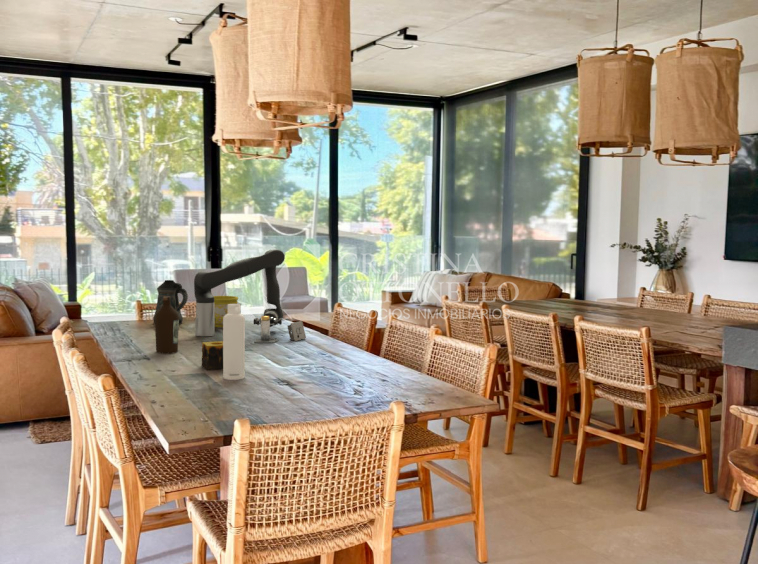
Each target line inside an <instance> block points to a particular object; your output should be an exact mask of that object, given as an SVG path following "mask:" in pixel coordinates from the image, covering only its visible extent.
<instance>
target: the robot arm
mask: <svg viewBox="0 0 758 564" xmlns="http://www.w3.org/2000/svg"><path fill="white" fill-rule="evenodd" d="M285 258H286V257H285V253H284V251H282V250H280V249H279V248H278V249H277V248H276V249H275V248H274V249H269V250H267V251H266V252H264V254H261V255H258V256H252V257H247V258H243V259H239V260H237V261H233V262H232V263H231V262H230V264H227V266H226V267H224V268H221V269H217V270H214V271H203V270H202V271H199V272H197V273H196V274H195V276H194V279H193V287H194V289H193V290H194V298H195V304H196V305H195V309H196V310H195V312H196V313H195V315H196V316H195V319H194V320H195V324H194V325H195V326H194V328H195V329H194V330H195V332H194V334H195V337H211V336H212V337H213V336H215V327H214V296H215V295H213V293H212V289H215V288H216V287H219V286H221V285H222V284H226V283H228V282H231V281H235V280H240V279H243V278H245V277H248V276H250V275H253V274H256V273H257V272H259V271H262V270H264V271H265V278H266V302H267V304H269V305H273V306H274V307H275V308H266V309H264V311H263V314H262V316H269V320H270V328H272V327H274V326H278V325H279V326H280V325H283V318H284V313H283V310H282V306H281V299H280V298H281V290H280V289H281V288H280V284H279V281H278V277H277V271H276V270H277V267H278V266H281V265H282V264H283V263H284V261H285ZM253 325H257V326H259V325H260V326H261V317H260V318H258V317H255V318H253Z"/></svg>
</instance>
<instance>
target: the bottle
mask: <svg viewBox="0 0 758 564" xmlns="http://www.w3.org/2000/svg"><path fill="white" fill-rule="evenodd" d="M245 322H246V317H245V316H244V315H243V314H242V313H241V304H239V303H237V304H228V314H226V315H225V316H224V317H223V327H222V330H223V331H222V332H223V333H222V334H223V335H222V341H223V369H222V371H223V374H222V378H223V379H224V380H229V381H230V380H231V381H237V380H243V379H244V378H245V377H246V375H245V372H246V366H245V365H246V364H245V363H246V361H245V360H246V354H245V353H246V349H245V348H246V346H245V345H246V340H245V339H246V338H245V337H246V336H245V333H246V332H245V331H246V326H245V325H246V323H245Z"/></svg>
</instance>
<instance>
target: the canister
mask: <svg viewBox="0 0 758 564" xmlns="http://www.w3.org/2000/svg"><path fill="white" fill-rule="evenodd" d="M260 318H261V325H260V339H261V341H269V340H270V339H271V327H270V320H269V316H263V315H261V316H260Z"/></svg>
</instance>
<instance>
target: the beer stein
mask: <svg viewBox="0 0 758 564" xmlns="http://www.w3.org/2000/svg"><path fill="white" fill-rule="evenodd" d="M156 291H157V292H158V293H157V301H156V307H155V311H154V314H153V317H152V320H153V324H154V325H155V321H154V318H155V314H156V312H157V311H158V310H159V309H160V308H161V307H162V306H163V297H170V305H171V306H172V307H173V308H174V309H175V310H176V312H177V313H178V316H179V325H181V324H182V322H183V320H184V319H183V317H184V316H183V314H182V312H181V310H182V309H183V308H184V306H185V305H186V304H187V302H188V297H189V295H188V292H187V290H186V289H184V288H183V286H182V284H181V283H179V282H175V281H174V280H172V279H166V280H164V282H163V283H161V284H160V285H159V286H158V287H157V288H156ZM179 294H181V295H182V300H181V302H180V298H179Z"/></svg>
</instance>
